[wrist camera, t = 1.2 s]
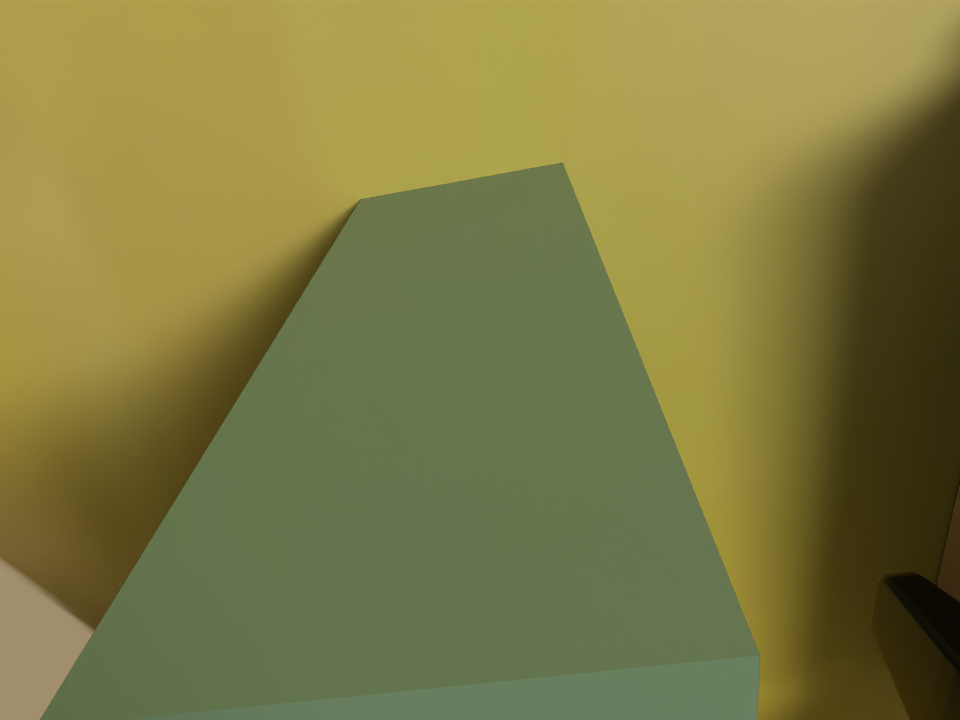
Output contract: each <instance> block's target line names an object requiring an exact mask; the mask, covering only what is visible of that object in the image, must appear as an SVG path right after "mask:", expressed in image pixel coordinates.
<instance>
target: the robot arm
mask: <svg viewBox="0 0 960 720" xmlns="http://www.w3.org/2000/svg"><path fill="white" fill-rule="evenodd" d="M871 624H872V630H873V633H874V636H875V639H876V641H877V644H878V646H879V648H880V651H881V653H882V656H883V658H884V660H885V663H886V665H887V667H888V670H889V672H890V674H891V677H892V679H893V681H894V684H895V686H896V688H897V691H898V693H899V696H900V698H901V700H902V703H903V705H904V707H905V710H906V712H907V714H908V717H909V719H910V720H960V601H958V600H957V599H955V598H954V597H952V596H951V595H949V594H948V593H946V592H945V591H943V590H942V589H941V588H939V587H938V586H936V585H935V584H933V583H932V582H930V581H929V580H927V579H926V578H924V577H923V576H921V575H919V574H916V573H913V572H905V573H896V574H887V575H883V576H881V577H880V578H879V579H878V581H877V585H876V591H875V597H874V603H873V609H872V615H871Z"/></svg>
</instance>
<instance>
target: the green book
mask: <svg viewBox="0 0 960 720" xmlns="http://www.w3.org/2000/svg"><path fill="white" fill-rule="evenodd" d="M759 666H760V654H759V652H758V649H757V647H756V644H755V642H754V639H753V637H752V634H751V632H750V629H749V627H748V624H747V622H746V619H745V617H744V614H743V612H742V609H741V607H740V604H739V602H738V599H737V597H736V594H735V592H734V589H733V587H732V584H731V582H730V579H729V577H728V574H727V572H726V569H725V567H724V564H723V562H722V559H721V557H720V554H719V552H718V549H717V547H716V544H715V542H714V539H713V537H712V535H711V532H710V530H709V527H708V525H707V522H706V520H705V517H704V515H703V512H702V510H701V507H700V505H699V502H698V500H697V497H696V495H695V492H694V490H693V487H692V485H691V482H690V480H689V477H688V475H687V472H686V470H685V467H684V465H683V462H682V460H681V457H680V455H679V452H678V450H677V447H676V445H675V442H674V440H673V437H672V435H671V432H670V430H669V427H668V425H667V422H666V420H665V417H664V415H663V412H662V410H661V407H660V405H659V402H658V400H657V397H656V395H655V392H654V390H653V387H652V385H651V382H650V380H649V377H648V375H647V372H646V370H645V367H644V365H643V362H642V360H641V357H640V355H639V352H638V350H637V347H636V345H635V342H634V340H633V337H632V335H631V332H630V330H629V327H628V325H627V322H626V320H625V317H624V315H623V312H622V310H621V307H620V305H619V302H618V300H617V297H616V295H615V292H614V290H613V287H612V285H611V282H610V280H609V277H608V275H607V272H606V270H605V267H604V265H603V262H602V260H601V257H600V255H599V252H598V250H597V247H596V245H595V242H594V240H593V237H592V235H591V232H590V230H589V227H588V225H587V222H586V220H585V217H584V215H583V212H582V210H581V207H580V205H579V202H578V200H577V197H576V195H575V192H574V190H573V187H572V185H571V182H570V180H569V177H568V175H567V172H566V170H565V167H564V165H563V163H558V164H553V165H547V166H542V167H536V168H531V169H525V170H520V171H514V172H509V173H503V174H497V175H492V176H486V177H481V178H475V179H470V180H464V181H459V182H453V183H448V184H442V185H437V186H431V187H426V188H420V189H415V190H409V191H404V192H398V193H393V194H387V195H382V196H376V197H371V198H365V199H361V200H360V201H359V203H358V205H357V206H356V208H355V209H354V211H353V213H352V214H351V216H350V218H349V219H348V221H347V222H346V224H345V226H344V227H343V229H342V231H341V232H340V234H339V235H338V237H337V239H336V240H335V242H334V243H333V245H332V247H331V248H330V250H329V252H328V253H327V255H326V256H325V258H324V260H323V261H322V263H321V265H320V266H319V268H318V269H317V271H316V273H315V274H314V276H313V278H312V279H311V281H310V282H309V284H308V286H307V287H306V289H305V291H304V292H303V294H302V295H301V297H300V299H299V300H298V302H297V304H296V305H295V307H294V308H293V310H292V312H291V313H290V315H289V317H288V318H287V320H286V321H285V323H284V325H283V326H282V328H281V329H280V331H279V333H278V334H277V336H276V338H275V339H274V341H273V342H272V344H271V346H270V347H269V349H268V351H267V352H266V354H265V355H264V357H263V359H262V360H261V362H260V364H259V365H258V367H257V368H256V370H255V372H254V373H253V375H252V377H251V378H250V380H249V381H248V383H247V385H246V386H245V388H244V390H243V391H242V393H241V394H240V396H239V398H238V399H237V401H236V403H235V404H234V406H233V407H232V409H231V411H230V412H229V414H228V415H227V417H226V419H225V420H224V422H223V424H222V425H221V427H220V428H219V430H218V432H217V433H216V435H215V437H214V438H213V440H212V441H211V443H210V445H209V446H208V448H207V450H206V451H205V453H204V454H203V456H202V458H201V459H200V461H199V463H198V464H197V466H196V467H195V469H194V471H193V472H192V474H191V476H190V477H189V479H188V480H187V482H186V484H185V485H184V487H183V489H182V490H181V492H180V493H179V495H178V497H177V498H176V500H175V501H174V503H173V505H172V506H171V508H170V510H169V511H168V513H167V514H166V516H165V518H164V519H163V521H162V523H161V524H160V526H159V527H158V529H157V531H156V532H155V534H154V536H153V537H152V539H151V540H150V542H149V544H148V545H147V547H146V549H145V550H144V552H143V553H142V555H141V557H140V558H139V560H138V562H137V563H136V565H135V566H134V568H133V570H132V571H131V573H130V575H129V576H128V578H127V579H126V581H125V583H124V584H123V586H122V588H121V589H120V591H119V592H118V594H117V596H116V597H115V599H114V600H113V602H112V604H111V605H110V607H109V609H108V610H107V612H106V613H105V615H104V617H103V618H102V620H101V622H100V623H99V625H98V626H97V628H96V630H95V631H94V633H93V635H92V636H91V638H90V639H89V641H88V643H87V644H86V646H85V648H84V649H83V651H82V653H81V654H80V656H79V657H78V659H77V661H76V662H75V664H74V665H73V667H72V669H71V670H70V672H69V674H68V675H67V677H66V678H65V680H64V682H63V683H62V685H61V686H60V688H59V690H58V691H57V693H56V695H55V696H54V698H53V700H52V701H51V703H50V704H49V706H48V708H47V709H46V711H45V712H44V714H43V716H42V717H41V719H40V720H757V715H758V691H759Z"/></svg>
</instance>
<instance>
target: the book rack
mask: <svg viewBox="0 0 960 720" xmlns="http://www.w3.org/2000/svg"><path fill="white" fill-rule="evenodd" d="M936 586H938V587H939V588H941V589H942V590H943V591H945V592H946V593H948V594H949V595H951V596H952V597H954V598H955V599H957V600H958V601H960V484H959V488H958V493H957V497H956V502H955V506H954V510H953V515H952V519H951V523H950V528H949V532H948V536H947V541H946V545H945V550H944V554H943V558H942V563H941V567H940V571H939V576H938V580H937V585H936Z"/></svg>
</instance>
